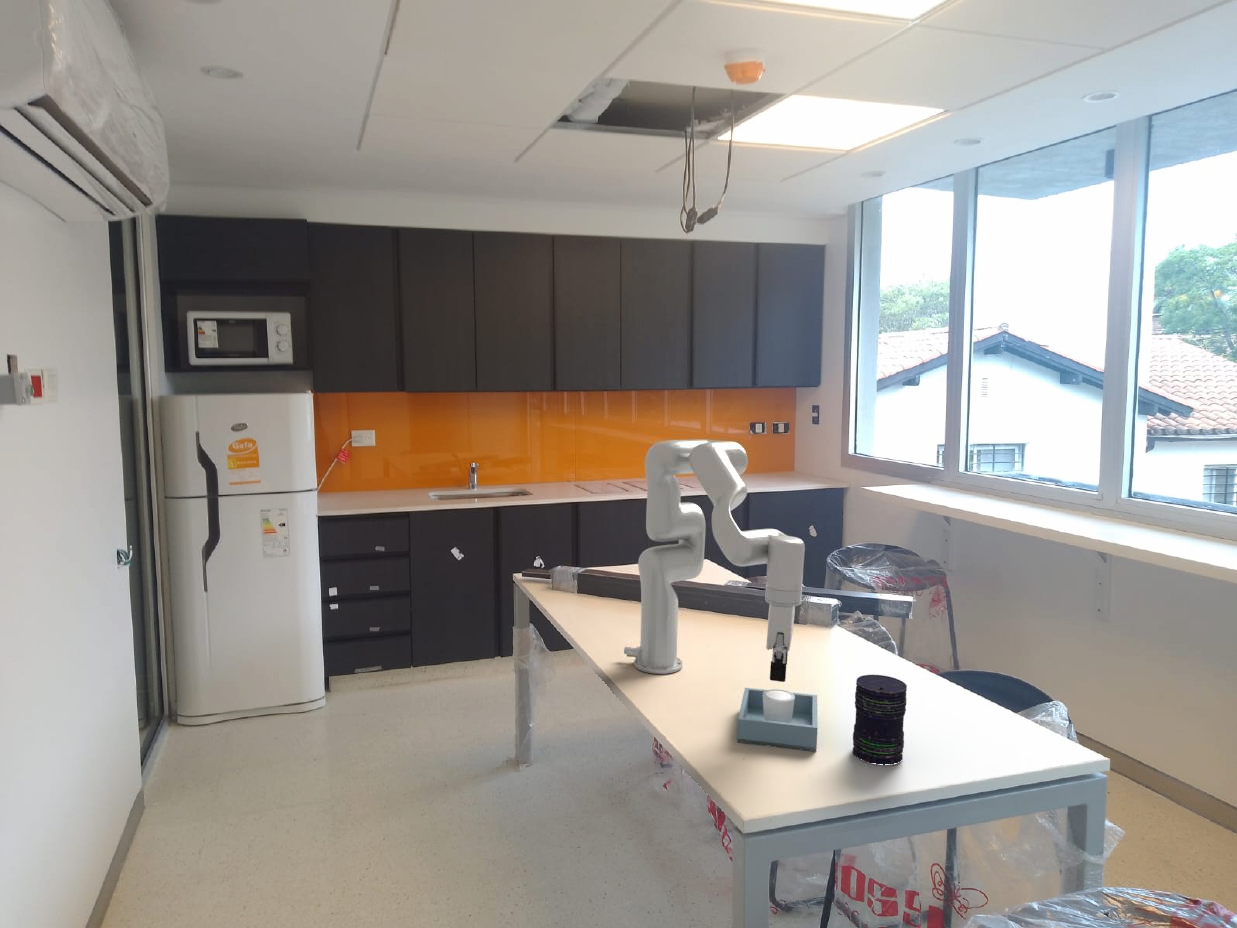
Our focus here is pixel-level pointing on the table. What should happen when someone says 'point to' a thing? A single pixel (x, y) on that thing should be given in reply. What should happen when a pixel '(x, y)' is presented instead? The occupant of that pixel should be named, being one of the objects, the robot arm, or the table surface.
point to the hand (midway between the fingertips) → (778, 672)
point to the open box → (778, 723)
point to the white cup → (778, 705)
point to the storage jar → (879, 719)
